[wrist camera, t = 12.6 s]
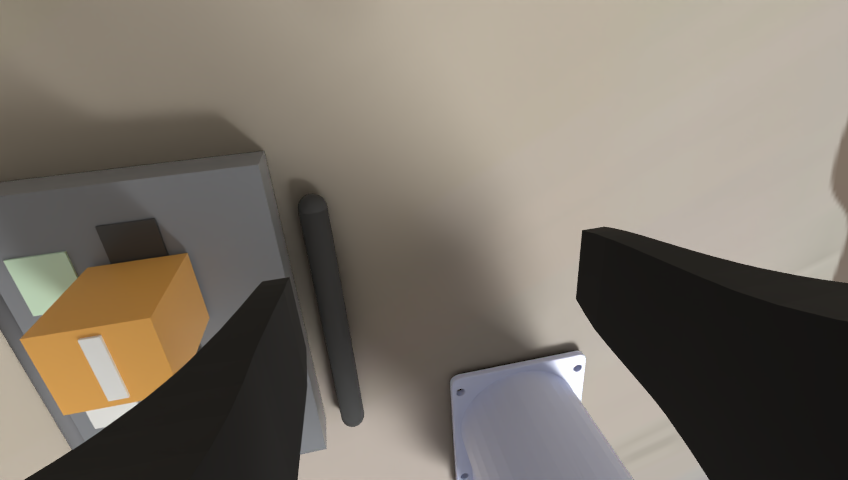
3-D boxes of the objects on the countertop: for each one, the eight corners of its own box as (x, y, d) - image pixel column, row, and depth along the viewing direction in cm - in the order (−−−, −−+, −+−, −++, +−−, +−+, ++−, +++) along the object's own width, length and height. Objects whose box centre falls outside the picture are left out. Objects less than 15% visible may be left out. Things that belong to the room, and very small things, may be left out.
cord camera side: (123, 462, 24) (113, 482, 23) (97, 467, 23) (87, 488, 22) (0, 231, 18) (-21, 244, 17) (-35, 236, 18) (-58, 249, 17)
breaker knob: (209, 317, 19) (180, 395, 15) (117, 333, 18) (62, 417, 14) (187, 252, 17) (148, 319, 14) (87, 267, 17) (17, 341, 13)
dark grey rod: (364, 412, 26) (366, 429, 24) (342, 416, 25) (343, 433, 24) (324, 188, 20) (325, 197, 19) (296, 191, 19) (294, 201, 18)
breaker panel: (325, 418, 25) (326, 450, 23) (130, 458, 24) (114, 496, 22) (264, 150, 18) (257, 165, 17) (-13, 183, 17) (-54, 203, 15)
